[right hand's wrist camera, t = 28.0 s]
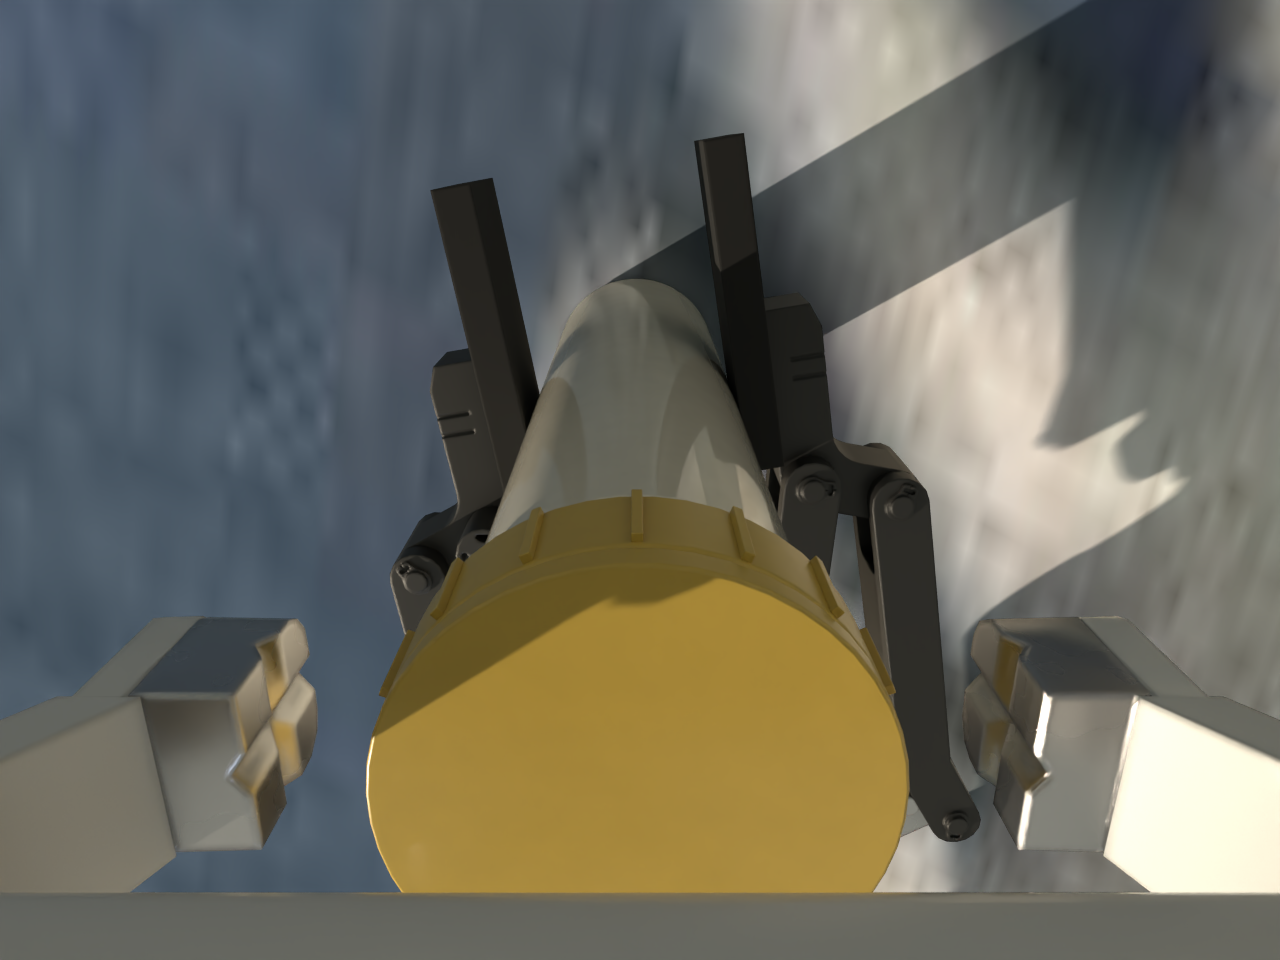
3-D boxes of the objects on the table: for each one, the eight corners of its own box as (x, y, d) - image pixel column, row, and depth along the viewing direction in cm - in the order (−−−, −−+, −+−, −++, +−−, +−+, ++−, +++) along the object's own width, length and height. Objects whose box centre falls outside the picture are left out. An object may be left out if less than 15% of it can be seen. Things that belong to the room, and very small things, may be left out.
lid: (894, 850, 11) (936, 965, 9) (472, 917, 11) (447, 1039, 9) (843, 445, 9) (886, 509, 7) (339, 541, 9) (282, 620, 8)
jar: (704, 433, 26) (815, 908, 10) (557, 422, 26) (430, 887, 10) (720, 284, 25) (880, 564, 9) (563, 272, 25) (425, 536, 8)
